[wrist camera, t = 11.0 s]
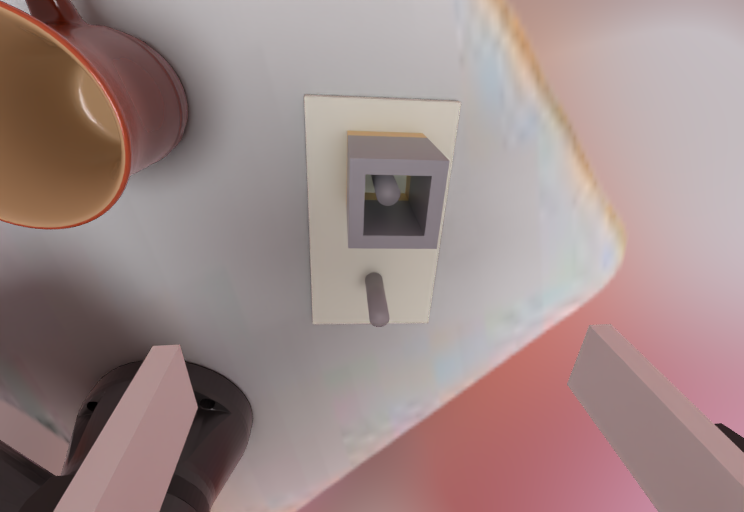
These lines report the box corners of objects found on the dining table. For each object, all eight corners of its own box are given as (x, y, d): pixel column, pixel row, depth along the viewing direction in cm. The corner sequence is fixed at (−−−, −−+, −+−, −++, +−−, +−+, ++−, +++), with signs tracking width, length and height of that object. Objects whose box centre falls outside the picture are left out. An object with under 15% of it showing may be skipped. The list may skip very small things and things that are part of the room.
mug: (225, 155, 26) (164, 212, 17) (99, 176, 26) (-29, 245, 17) (148, -71, 20) (-10, -170, 11) (-15, -43, 20) (-306, -117, 11)
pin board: (313, 317, 33) (308, 368, 28) (305, 94, 24) (296, 107, 19) (425, 315, 34) (441, 365, 28) (456, 100, 25) (488, 114, 20)
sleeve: (346, 202, 27) (348, 248, 21) (347, 130, 24) (349, 157, 18) (414, 203, 27) (436, 248, 21) (422, 132, 25) (449, 160, 19)
